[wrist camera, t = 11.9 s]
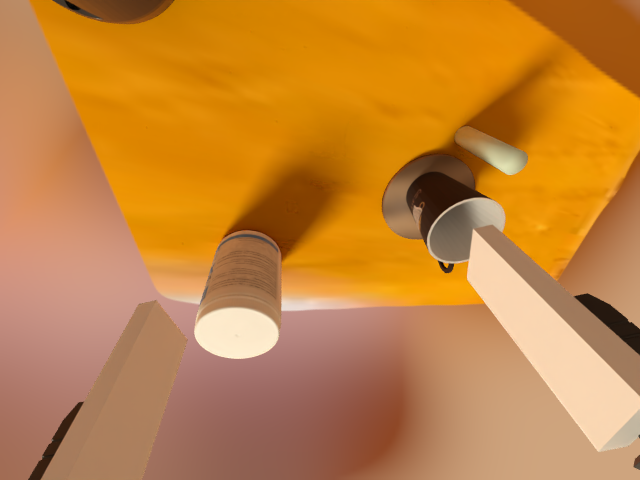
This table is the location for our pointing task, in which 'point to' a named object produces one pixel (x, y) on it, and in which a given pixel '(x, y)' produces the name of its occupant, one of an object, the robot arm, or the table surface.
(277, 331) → the supplement tub
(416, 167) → the walnut base
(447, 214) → the coffee mug
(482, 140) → the dowel
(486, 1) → the table surface
